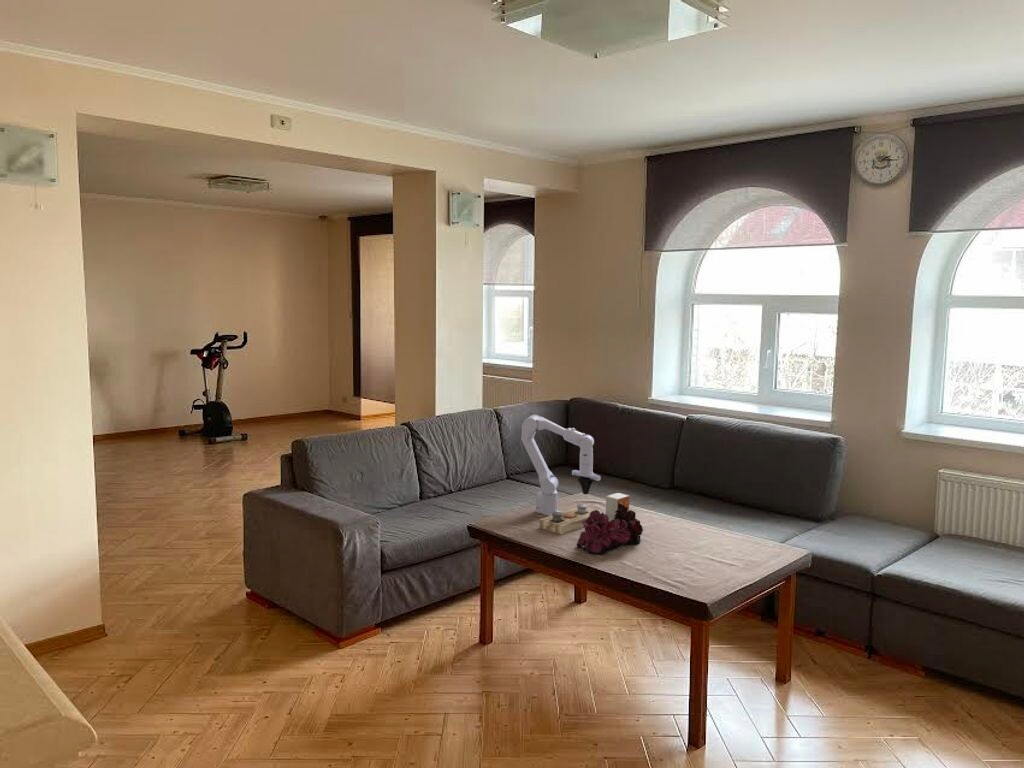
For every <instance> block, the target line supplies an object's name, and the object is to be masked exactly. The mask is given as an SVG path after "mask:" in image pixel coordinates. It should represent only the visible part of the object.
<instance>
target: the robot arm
mask: <svg viewBox="0 0 1024 768" xmlns="http://www.w3.org/2000/svg"><path fill="white" fill-rule="evenodd" d="M542 430H547V431H550V432H552V433H555V434H557V435H559V436H561V437H562V438H563V440H564V441H566V442H568V443H571V444H573V445H575V446H578V447H579V448H580V449H579V470H577V469H574V470H573V469H572V471H571V475H572V476H578V478H577V481H578V482H579V484H580V487H581V490H582V495H588V494H589V492H590V489H591V486H592V484H593V482H594V481H597V482H600V481H601V479H602V477H601V475H598V474H596V473H594V471H593V468H594V466H593V465H594V453H593V452H594V449H593V446H594V444H595V439H594V437H593V436H592V435H590V434H586V433H584V432H580V431H578V430H577V429H576V428H574V427H572V428H571V427H568V428H564V427H562V426H561V425H559V424H557V423H555V422H553V421H551V420H549V419H547V418H545V417H543V416H540V415H538V414H532V415H529V417H526V419H525V418H524V421H523V423H522V425H521V437H520V441H521V442H522V444H523V446H524V448H525V451H526V452H527V454H528V457H529V458H530V461H531V462H532V465H533V467H534V469H535V471H536V473H537V475H538V482H539V484H540V485H539V486H540V490H539V492H537V494H536V497H535V510H534V512H535V513H538V514H542V515H545V516H547V517H549V516H552V513H553V512H561V513H562V512H563V511H562V510H558V503H559V502H558V499H559V497H558V495H559V494H558V493H559V492H558V491H557V488H558V487H559V483H560V482H559V479H558V478H557V477H556V476H555V475H554V474H553V472H552V471H551V470H550V469H549V467H548V464H547V463H546V461H545V460H544V459H545V458H544V456H543V455H542V452H541V451H540V449H539V447H538V444H537V443H536V440H535V438H534V437H535V436H536V433H537V431H542Z"/></svg>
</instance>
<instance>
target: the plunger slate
mask: <svg viewBox="0 0 1024 768" xmlns="http://www.w3.org/2000/svg"><path fill="white" fill-rule="evenodd" d="M576 508H578V514H581V515H584V514H586V510H587V508H588V505H587V504H584V503H579V504H577V505H576Z"/></svg>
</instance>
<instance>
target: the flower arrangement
mask: <svg viewBox="0 0 1024 768" xmlns="http://www.w3.org/2000/svg"><path fill="white" fill-rule="evenodd" d="M627 509H628V507H625V506H624V505H622V504H620V503H618V510H616V511H615V513H616V514H615V515H614V516H616V517H615V518H614V520H611V521H610V522H609V517H608V515H606V513H604V512H603V511H601V512H600V511H599V510H597V509H594V510H592V511H591V510H590V511H591V512H590V516H589V517H588V519H587V520H586V521H585V520H584V521H582V523H583V526H584V527H583V528H584V531H580V534H579V538H578V541H577V542H576V548H577V549H581V547H582V548H583V550H584V551H586V553H587V554H590V555H593V556H594V555H595V556H604V555H606V553H607V552H612V551H613V550H617V549H618V548H619V547H620V548H621V547H627V546H638V545H641V541H642V540H641V536H642V534H643V531H644V529H643V526H642V524H641V521H640V520H639V519H637V518H636V517H637V516H636V513H637V512H636V511H634V510H631V509H629V511H627Z"/></svg>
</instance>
